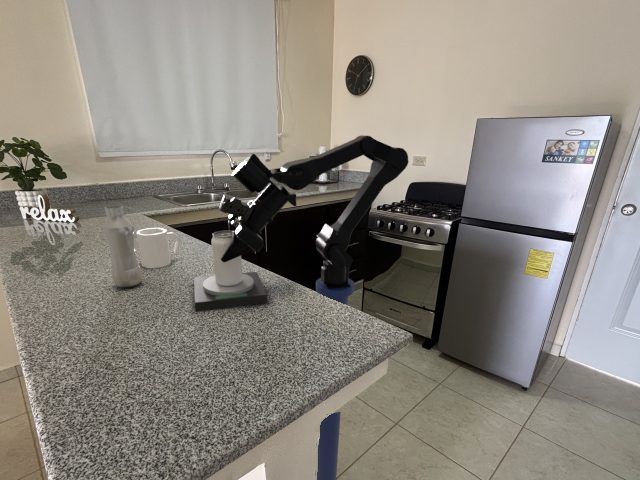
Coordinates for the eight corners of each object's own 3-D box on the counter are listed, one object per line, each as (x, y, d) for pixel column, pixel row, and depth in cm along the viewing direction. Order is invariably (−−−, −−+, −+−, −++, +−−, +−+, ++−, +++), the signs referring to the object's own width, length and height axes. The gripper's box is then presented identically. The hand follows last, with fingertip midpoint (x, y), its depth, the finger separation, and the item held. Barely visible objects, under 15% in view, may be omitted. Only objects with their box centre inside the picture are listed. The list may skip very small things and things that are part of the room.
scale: (256, 279, 95) (256, 268, 94) (267, 302, 82) (267, 290, 80) (195, 285, 90) (193, 273, 89) (195, 311, 77) (194, 298, 76)
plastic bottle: (116, 281, 91) (99, 205, 83) (144, 278, 93) (131, 203, 85) (112, 291, 85) (94, 210, 78) (142, 288, 88) (128, 208, 80)
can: (237, 288, 81) (233, 238, 77) (211, 285, 82) (205, 236, 77) (246, 277, 87) (243, 230, 82) (222, 275, 88) (217, 229, 83)
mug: (145, 270, 99) (139, 236, 95) (138, 261, 105) (132, 230, 101) (187, 262, 106) (184, 230, 102) (178, 254, 112) (174, 224, 108)
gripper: (234, 177, 85) (192, 224, 86) (244, 188, 69) (192, 246, 70) (267, 208, 90) (227, 252, 91) (284, 225, 74) (235, 278, 75)
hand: (221, 256), depth 82 cm, fingers closed on can, 6 cm apart
